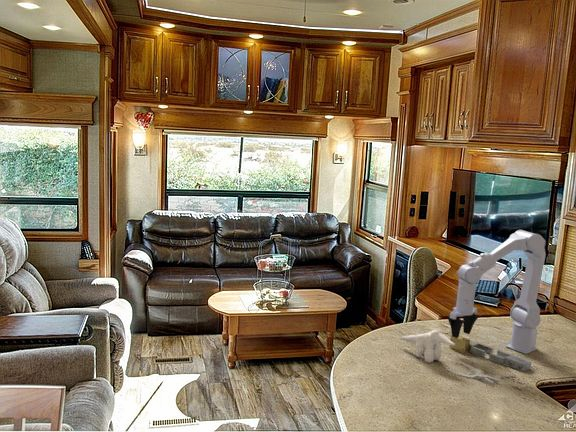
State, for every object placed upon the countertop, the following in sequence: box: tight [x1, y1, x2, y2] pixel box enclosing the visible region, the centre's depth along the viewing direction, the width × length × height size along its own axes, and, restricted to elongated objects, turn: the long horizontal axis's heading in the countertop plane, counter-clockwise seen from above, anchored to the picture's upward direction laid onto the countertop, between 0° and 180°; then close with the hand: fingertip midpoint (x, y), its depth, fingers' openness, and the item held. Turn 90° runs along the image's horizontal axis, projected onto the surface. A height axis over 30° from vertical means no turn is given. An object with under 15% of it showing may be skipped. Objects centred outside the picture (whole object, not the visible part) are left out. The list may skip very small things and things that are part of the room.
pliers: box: [445, 362, 499, 387], centre depth 166 cm, size 10×2×15 cm
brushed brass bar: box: [449, 335, 471, 354], centre depth 187 cm, size 3×6×4 cm, turn 40°
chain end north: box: [488, 349, 533, 373], centre depth 177 cm, size 6×12×2 cm, turn 40°
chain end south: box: [469, 339, 494, 358], centre depth 188 cm, size 6×12×2 cm, turn 40°
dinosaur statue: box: [397, 328, 455, 363], centre depth 177 cm, size 7×24×11 cm, turn 36°
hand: (460, 335), depth 187 cm, fingers open, 7 cm apart
